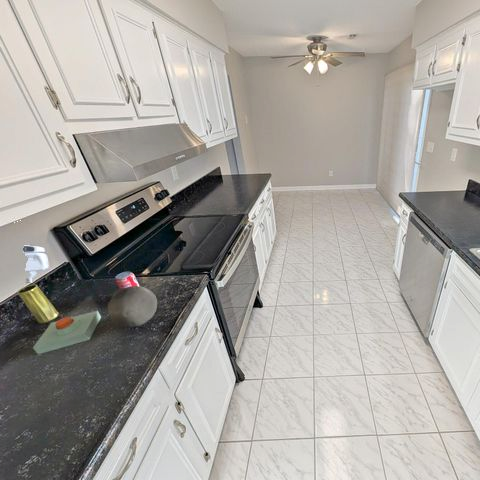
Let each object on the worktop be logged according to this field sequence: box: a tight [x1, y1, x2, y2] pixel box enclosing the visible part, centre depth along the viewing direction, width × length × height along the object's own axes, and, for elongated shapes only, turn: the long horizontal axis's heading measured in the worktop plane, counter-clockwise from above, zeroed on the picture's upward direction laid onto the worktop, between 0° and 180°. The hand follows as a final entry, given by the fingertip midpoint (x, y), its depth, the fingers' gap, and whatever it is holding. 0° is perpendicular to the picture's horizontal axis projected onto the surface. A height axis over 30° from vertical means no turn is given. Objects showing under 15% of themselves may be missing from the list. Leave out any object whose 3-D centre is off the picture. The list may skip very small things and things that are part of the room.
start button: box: [55, 316, 73, 329], centre depth 88 cm, size 4×4×2 cm
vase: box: [16, 284, 60, 324], centre depth 96 cm, size 6×6×14 cm
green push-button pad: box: [32, 310, 102, 355], centre depth 89 cm, size 14×12×5 cm
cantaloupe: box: [107, 285, 158, 329], centre depth 90 cm, size 14×14×15 cm
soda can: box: [114, 271, 140, 291], centre depth 104 cm, size 6×6×12 cm
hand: (12, 284), depth 100 cm, fingers open, 8 cm apart
